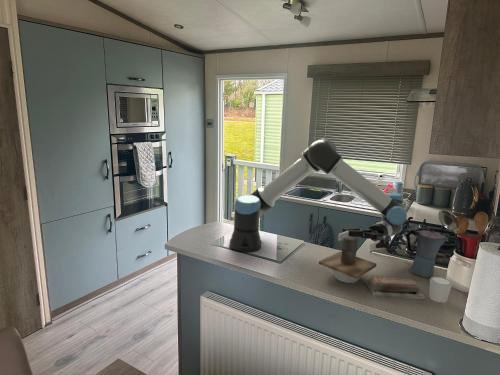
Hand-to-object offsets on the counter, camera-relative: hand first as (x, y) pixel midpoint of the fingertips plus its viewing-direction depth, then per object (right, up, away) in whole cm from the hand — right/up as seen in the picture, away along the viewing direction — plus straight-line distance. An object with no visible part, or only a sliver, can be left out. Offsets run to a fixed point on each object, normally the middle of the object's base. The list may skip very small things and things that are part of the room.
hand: (354, 242), depth 134 cm
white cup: (+26, -19, -11) cm, 34 cm away
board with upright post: (-2, -9, +1) cm, 9 cm away
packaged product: (+12, -17, -7) cm, 23 cm away
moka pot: (+30, -14, +9) cm, 35 cm away
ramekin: (-3, -14, +2) cm, 15 cm away
